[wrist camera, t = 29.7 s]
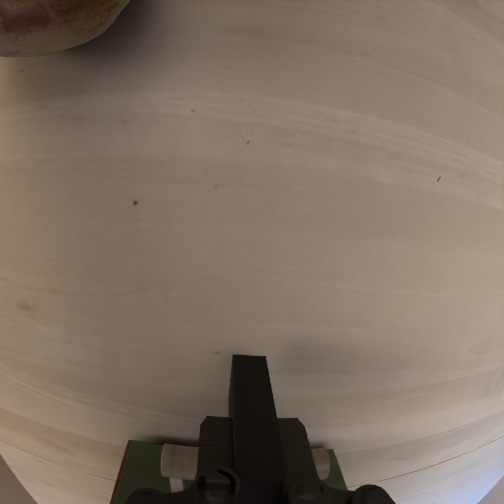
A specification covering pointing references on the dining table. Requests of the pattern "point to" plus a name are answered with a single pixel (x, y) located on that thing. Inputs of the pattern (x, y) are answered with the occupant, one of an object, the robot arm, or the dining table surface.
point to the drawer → (192, 468)
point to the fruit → (53, 24)
